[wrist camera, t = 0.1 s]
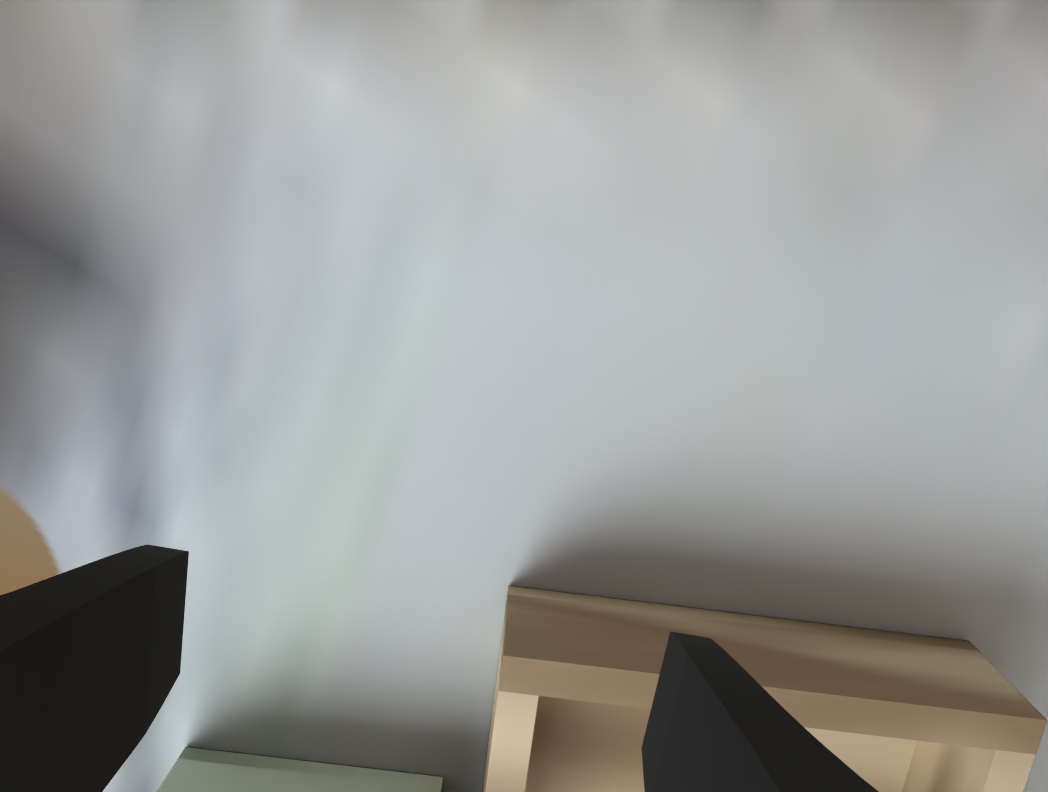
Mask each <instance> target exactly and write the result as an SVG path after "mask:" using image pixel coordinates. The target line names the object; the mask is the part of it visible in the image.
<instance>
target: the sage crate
mask: <svg viewBox="0 0 1048 792" xmlns="http://www.w3.org/2000/svg"><path fill="white" fill-rule="evenodd" d="M442 782H443V777H438V776H429V775H421V774H412V773H404V772H395V771H386V770H378V769H369V768H361V767H352V766H344V765H335V764H326V763H318V762H309V761H301V760H292V759H284V758H275V757H267V756H258V755H249V754H241V753H232V752H224V751H215V750H207V749H198V748H189V747H185V749H184V750H183V752H182V753H181V755H180V757H179V758H178V760H177V761H176V763H175V764H174V766H173V767H172V769H171V770H170V772H169V773H168V775H167V777H166V778H165V780H164V781H163V783H162V784H161V786H160V787H159V789H158V790H157V792H441V791H442Z"/></svg>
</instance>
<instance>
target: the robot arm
mask: <svg viewBox="0 0 1048 792" xmlns="http://www.w3.org/2000/svg"><path fill="white" fill-rule="evenodd" d="M188 554H189V551H183V550H177V549H171V548H165V547H159V546H153V545H144V546H140V547H136V548H133V549H129V550H126V551H123V552H120V553H117V554H114V555H111V556H108V557H105V558H103V559H100V560H97V561H94V562H92V563H89V564H86V565H83V566H81V567H78V568H75V569H73V570H70V571H67V572H64V573H62V574H59V575H56V576H54V577H51V578H48V579H45V580H43V581H40V582H37V583H34V584H32V585H29V586H27V587H24V588H21V589H18V590H15V591H13V592H10V593H7V594H4V595H0V792H102V791H103V790H104V789H105V787H106V786H107V785H108V783H109V782H110V781H111V779H112V778H113V777H114V775H115V774H116V773H117V771H118V770H119V769H120V767H121V766H122V765H123V763H124V762H125V761H126V759H127V758H128V757H129V755H130V754H131V753H132V751H133V750H134V749H135V747H136V746H137V745H138V743H139V742H140V740H141V739H142V738H143V736H144V735H145V734H146V732H147V730H148V728H149V727H150V725H151V723H152V722H153V720H154V718H155V717H156V715H157V713H158V712H159V710H160V708H161V707H162V705H163V703H164V701H165V699H166V698H167V696H168V694H169V692H170V690H171V688H172V687H173V685H174V683H175V681H176V679H177V678H178V676H179V674H180V665H181V651H182V637H183V623H184V609H185V595H186V581H187V568H188ZM641 749H642V763H643V777H644V789H645V792H879V791H877V790H876V789H875V788H874V787H872V786H871V785H870V784H869V783H867V782H866V781H865V780H864V779H862V778H861V777H860V776H859V775H858V774H856V773H855V772H854V771H853V770H852V769H851V768H850V767H848V766H847V765H846V764H845V763H844V762H843V761H841V760H840V759H839V758H838V757H837V756H836V755H834V754H833V753H832V752H831V751H830V750H829V749H828V748H826V747H825V746H824V745H823V744H822V743H821V742H820V741H818V740H817V739H816V738H815V737H814V736H813V735H812V734H811V733H810V732H809V731H808V730H806V729H805V728H804V727H803V726H802V725H801V724H800V723H799V722H798V721H797V720H796V719H795V718H794V717H793V716H792V715H790V714H789V713H788V712H787V711H786V710H785V709H784V708H783V707H782V706H781V705H780V704H779V703H778V702H777V701H776V700H775V699H774V698H773V697H772V696H771V695H770V694H769V693H768V692H767V691H766V690H765V689H764V688H763V687H762V686H761V685H760V684H759V683H758V682H757V681H756V680H755V679H754V678H753V677H752V676H751V675H750V674H749V673H748V672H747V671H746V670H745V669H744V668H743V667H741V666H740V665H739V664H738V663H737V662H736V661H735V660H734V659H733V658H732V657H731V656H730V655H729V654H728V653H727V652H726V651H725V650H724V649H723V648H722V647H721V646H719V645H718V644H717V643H716V642H715V641H714V640H712V639H711V638H707V637H701V636H695V635H689V634H683V633H677V632H671V631H670V634H669V638H668V642H667V646H666V650H665V654H664V658H663V662H662V667H661V671H660V675H659V679H658V683H657V687H656V691H655V695H654V699H653V703H652V707H651V711H650V715H649V719H648V723H647V727H646V731H645V735H644V739H643V744H642V748H641Z"/></svg>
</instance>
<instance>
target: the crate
mask: <svg viewBox="0 0 1048 792" xmlns="http://www.w3.org/2000/svg"><path fill="white" fill-rule="evenodd" d="M670 631H671V632H677V633H683V634H689V635H695V636H701V637H707V638H711V639H712V640H714V641H715V642H716V643H717V644H718V645H719V646H721V647H722V648H723V649H724V650H725V651H726V652H727V653H728V654H729V655H730V656H731V657H732V658H733V659H734V660H735V661H736V662H737V663H738V664H739V665H740V666H741V667H743V668H744V669H745V670H746V671H747V672H748V673H749V674H750V675H751V676H752V677H753V678H754V679H755V680H756V681H757V682H758V683H759V684H760V685H761V686H762V687H763V688H764V689H765V690H766V691H767V692H768V693H769V694H770V695H771V696H772V697H773V698H774V699H775V700H776V701H777V702H778V703H779V704H780V705H781V706H782V707H783V708H784V709H785V710H786V711H787V712H788V713H789V714H790V715H792V716H793V717H794V718H795V719H796V720H797V721H798V722H799V723H800V724H801V725H802V726H803V727H804V728H805V729H806V730H808V731H809V732H810V733H811V734H812V735H813V736H814V737H815V738H816V739H817V740H818V741H820V742H821V743H822V744H823V745H824V746H825V747H826V748H828V749H829V750H830V751H831V752H832V753H833V754H834V755H836V756H837V757H838V758H839V759H840V760H841V761H843V762H844V763H845V764H846V765H847V766H848V767H850V768H851V769H852V770H853V771H854V772H855V773H856V774H858V775H859V776H860V777H861V778H862V779H864V780H865V781H866V782H867V783H869V784H870V785H871V786H872V787H874V788H875V789H876V790H877V791H879V792H1023V791H1024V788H1025V785H1026V782H1027V779H1028V776H1029V773H1030V770H1031V767H1032V764H1033V761H1034V758H1035V755H1036V752H1037V749H1038V746H1039V743H1040V740H1041V737H1042V734H1043V732H1044V729H1045V726H1046V723H1047V719H1046V718H1045V717H1044V716H1043V715H1042V714H1041V713H1040V712H1039V711H1038V710H1037V709H1036V708H1035V707H1034V706H1033V705H1032V704H1031V703H1030V702H1029V701H1028V700H1027V699H1026V698H1025V697H1024V696H1023V695H1022V694H1021V693H1020V692H1019V691H1018V690H1017V689H1016V688H1015V687H1014V686H1013V685H1012V684H1011V683H1010V682H1009V681H1008V680H1007V679H1006V678H1005V677H1004V676H1003V675H1002V674H1001V673H1000V672H999V671H998V670H997V669H996V668H995V667H994V666H993V665H992V664H991V663H990V662H989V661H988V660H987V659H986V658H985V657H984V656H983V655H982V654H981V653H980V652H979V651H978V650H977V649H976V648H975V647H974V646H973V645H972V644H971V643H970V642H969V641H963V640H955V639H947V638H938V637H930V636H922V635H913V634H905V633H897V632H888V631H880V630H872V629H863V628H855V627H847V626H838V625H830V624H822V623H813V622H805V621H797V620H788V619H780V618H772V617H763V616H755V615H747V614H739V613H730V612H722V611H714V610H705V609H697V608H689V607H680V606H672V605H664V604H655V603H647V602H639V601H630V600H622V599H614V598H605V597H597V596H589V595H580V594H572V593H564V592H555V591H547V590H539V589H530V588H522V587H514V586H508V594H507V602H506V609H505V617H504V625H503V633H502V640H501V648H500V656H499V663H498V671H497V679H496V686H495V694H494V702H493V710H492V717H491V725H490V733H489V740H488V748H487V756H486V763H485V771H484V779H483V787H482V792H645V789H644V777H643V763H642V749H641V748H642V744H643V739H644V735H645V731H646V727H647V723H648V719H649V715H650V711H651V707H652V703H653V699H654V695H655V691H656V687H657V683H658V679H659V675H660V671H661V667H662V662H663V658H664V654H665V650H666V646H667V642H668V638H669V634H670Z"/></svg>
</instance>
